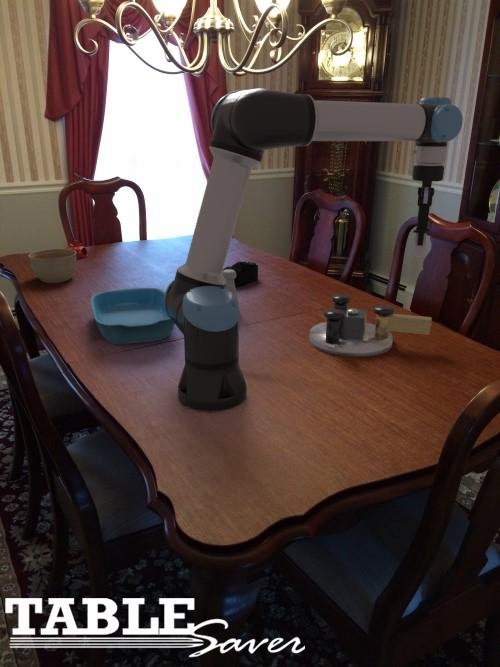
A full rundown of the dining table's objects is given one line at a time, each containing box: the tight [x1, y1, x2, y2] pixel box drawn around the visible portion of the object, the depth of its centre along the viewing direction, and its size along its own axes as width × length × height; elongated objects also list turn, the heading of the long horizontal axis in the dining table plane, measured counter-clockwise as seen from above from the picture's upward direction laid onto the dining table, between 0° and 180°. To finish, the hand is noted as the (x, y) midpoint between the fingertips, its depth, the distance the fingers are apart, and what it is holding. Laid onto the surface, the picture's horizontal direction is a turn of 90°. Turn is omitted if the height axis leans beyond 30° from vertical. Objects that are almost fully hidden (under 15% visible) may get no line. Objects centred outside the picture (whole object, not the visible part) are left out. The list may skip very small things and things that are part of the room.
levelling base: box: [309, 293, 394, 358], centre depth 148 cm, size 22×22×10 cm
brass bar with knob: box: [373, 304, 432, 339], centre depth 144 cm, size 15×5×8 cm, turn 74°
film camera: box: [222, 260, 259, 289], centre depth 199 cm, size 15×10×9 cm, turn 141°
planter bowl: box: [28, 248, 77, 284], centre depth 198 cm, size 16×16×11 cm
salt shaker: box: [222, 269, 239, 300], centre depth 170 cm, size 6×6×13 cm
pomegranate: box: [64, 239, 89, 260], centre depth 227 cm, size 10×10×9 cm
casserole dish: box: [90, 286, 176, 345], centre depth 158 cm, size 37×22×7 cm, turn 18°
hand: (418, 256), depth 147 cm, fingers closed
